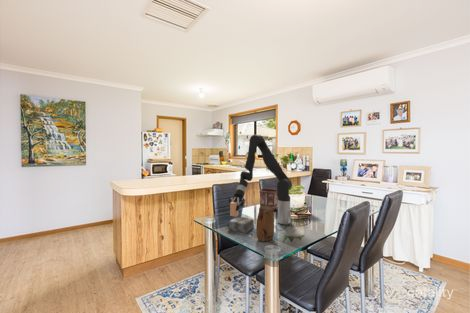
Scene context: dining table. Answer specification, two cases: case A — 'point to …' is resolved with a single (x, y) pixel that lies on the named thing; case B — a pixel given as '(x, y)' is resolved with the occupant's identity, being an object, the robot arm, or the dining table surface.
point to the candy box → (308, 202)
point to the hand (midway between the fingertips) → (233, 209)
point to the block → (265, 223)
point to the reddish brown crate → (269, 198)
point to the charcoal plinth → (241, 224)
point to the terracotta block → (233, 209)
